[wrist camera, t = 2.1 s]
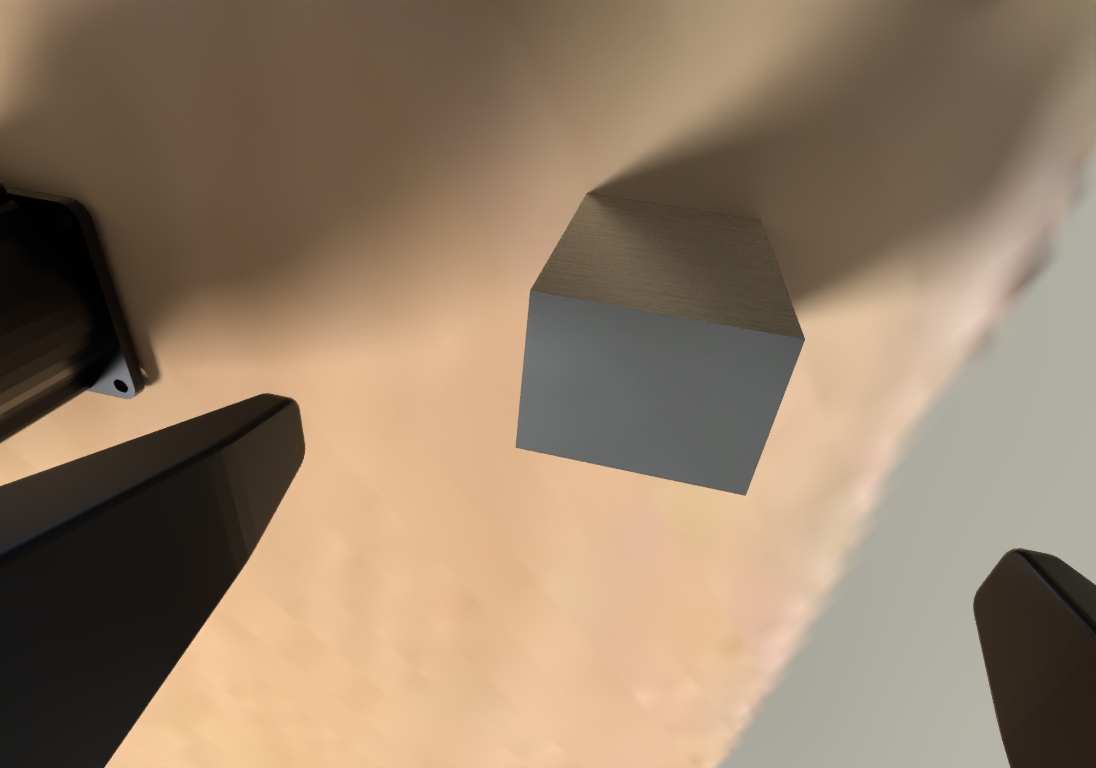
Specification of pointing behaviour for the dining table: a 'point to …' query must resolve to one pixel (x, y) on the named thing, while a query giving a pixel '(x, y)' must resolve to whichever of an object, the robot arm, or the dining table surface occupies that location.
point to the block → (658, 344)
